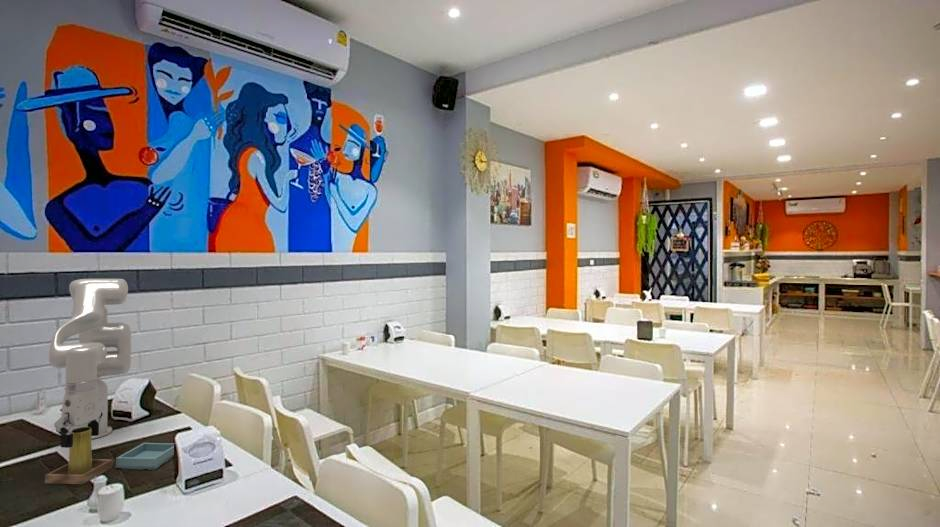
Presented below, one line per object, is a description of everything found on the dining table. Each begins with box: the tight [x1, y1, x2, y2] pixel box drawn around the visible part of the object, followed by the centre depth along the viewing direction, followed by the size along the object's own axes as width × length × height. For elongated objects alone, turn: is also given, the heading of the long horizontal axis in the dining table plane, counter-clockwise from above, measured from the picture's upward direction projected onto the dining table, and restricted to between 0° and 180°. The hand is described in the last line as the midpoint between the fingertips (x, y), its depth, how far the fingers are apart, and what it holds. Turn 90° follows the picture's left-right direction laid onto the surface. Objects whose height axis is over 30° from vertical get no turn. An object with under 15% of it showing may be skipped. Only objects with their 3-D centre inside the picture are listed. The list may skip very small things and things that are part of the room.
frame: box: [44, 458, 114, 485], centre depth 146 cm, size 12×12×2 cm
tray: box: [115, 442, 175, 471], centre depth 157 cm, size 13×13×4 cm
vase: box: [67, 427, 93, 475], centre depth 146 cm, size 6×6×14 cm
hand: (80, 441), depth 146 cm, fingers open, 9 cm apart
